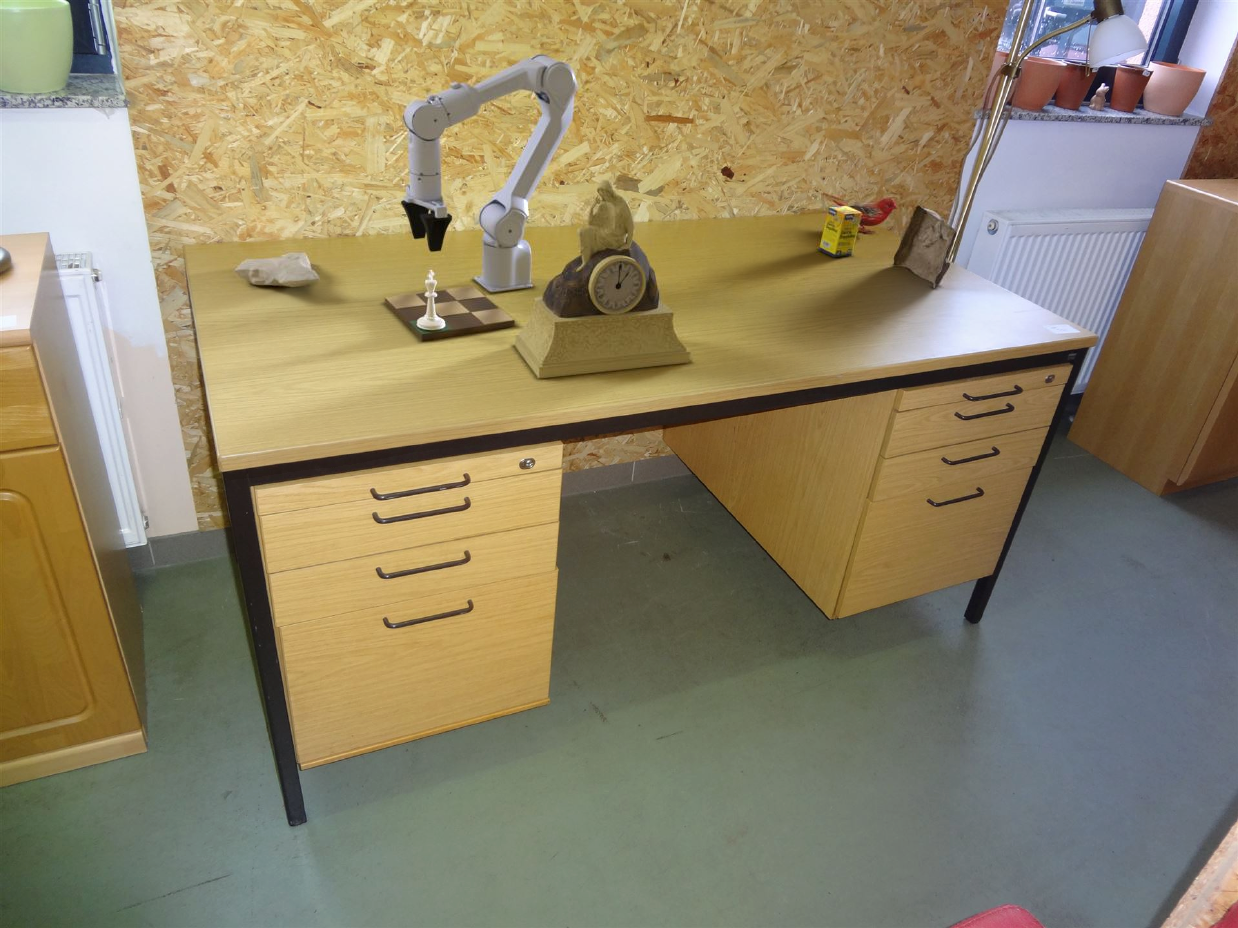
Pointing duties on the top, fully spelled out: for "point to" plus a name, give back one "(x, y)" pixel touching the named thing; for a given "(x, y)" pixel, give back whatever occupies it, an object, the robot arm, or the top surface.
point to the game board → (450, 312)
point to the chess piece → (430, 308)
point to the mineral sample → (926, 245)
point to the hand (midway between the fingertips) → (427, 244)
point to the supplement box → (840, 231)
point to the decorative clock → (601, 304)
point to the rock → (279, 271)
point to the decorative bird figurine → (873, 212)
